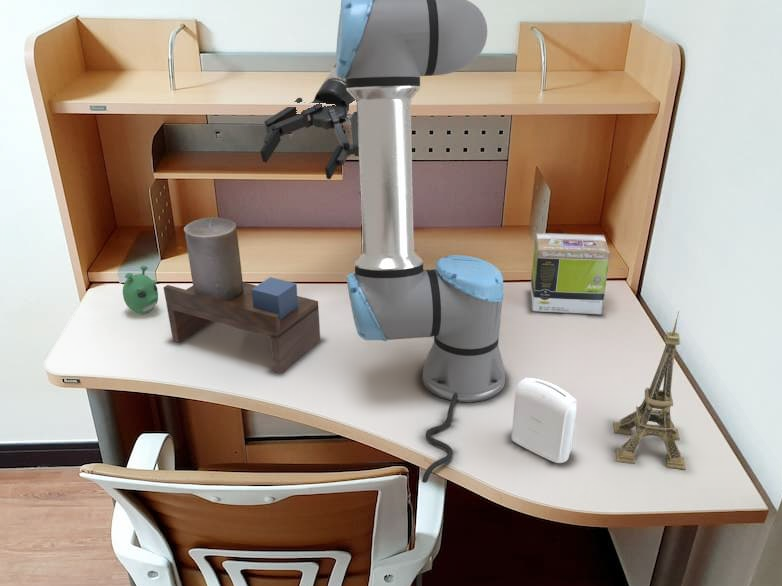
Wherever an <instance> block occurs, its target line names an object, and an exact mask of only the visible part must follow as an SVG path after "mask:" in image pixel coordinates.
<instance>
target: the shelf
mask: <svg viewBox="0 0 782 586" xmlns="http://www.w3.org/2000/svg"><path fill="white" fill-rule="evenodd" d="M256 286H257V284H253V283H249V282H245V281H243V289H244V290H243V292H242V293H241V294H240V295H239V296H237V297H236V298H233V299H231V300H228V301H226V300H222V299H219V298H215V297H211V296H207V295H204V294H200V293H196V292H194V288H193V285H191V286H190V287H187V289H184V288H181V287H178V286H173V285H170V284H167V285H165V286H163V293H164V298H165V303H166V309H167V310H166V311H167V315H168V322H169V326H170V334H171V339H172V342H174V343H178V344H180V343H181V342H183V341H184V340H187V339H188V338H189V337H190V336H192V335H194V334H195V333H197V332H198V331H200V330H201V329H203V328H204V327H206V326H207V325H210V324H211V323H213V322H214V323H218V324H221V325H225V326H228V327H232V328H235V329H239V330H243V331H246V332H250V333H253V334H256V335H261V336H264V337H267V338H270V347H271V358H272V359H271V360H272V368H273V372H274V373H276V374H283V373H284V372H285V371H286V370H287V369H288V368H289V367H291V366H292V365H293V364H294V363H295V362H297V361H298V360H299V359H300V358H302V357H303V356H304V355H305V354H306V353H307V352H309V351H310V350H311V349H312V348H314V347H316V345H317V344H319V343H320V342H321V329H320V310H319V309H320V307H319V301H318V300H315V299H311V298H308V297H303V296H300V295H297V298H298V307H297V308H296V309H295V310H293V311H292V312H291V313H289V314H288V315H287V316H285V317H284V318H282V319H281V320H280V319H279V315H278V314H275V313H271V312H267V311H264V310H260V309H256V308H253V298H252V289H253V288H254V287H256Z"/></svg>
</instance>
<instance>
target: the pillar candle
mask: <svg viewBox="0 0 782 586" xmlns="http://www.w3.org/2000/svg"><path fill="white" fill-rule="evenodd" d="M237 229H238V228H237V225H236V222H234V221H233V220H231V219H228V218H226V217H225V218H223V217H216V216H215V217H203V218H199V219H196V220H193V221H191V222H189V223H187V224H186V225H185V226H184V227H183V231H184V235H185V241H186V248H187V255H188V256H187V257H188V263H189V268H190V276H191V282H192V286H193V288H194V292H196V293H200V294H204V295H207V296H211V297H215V298H219V299H222V300H226V301H228V300H231V299H233V298H236V297H237V296H239V295H240V294H241V293H242V292H243V290H244V289H243V282H244V281H243V271H242V263H241V255H240V254H241V253H240V245H239V237H238V230H237Z"/></svg>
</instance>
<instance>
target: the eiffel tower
mask: <svg viewBox="0 0 782 586" xmlns="http://www.w3.org/2000/svg"><path fill="white" fill-rule="evenodd" d="M679 314H680V310H678V311H677V315H676V319H675V323H674V326H673V330H672V332H671V331H666V334H665V335H664V336H663V339H664V343H665V347H664V349H663V352H662V355H661V358H660V360H659V363H658V366H657V368H656V371H655V372H654V373H655V374H654V376H653V379H652V381H651V384H650V386H649V387H646V388H645V389H644V398H643V401H642V403H641V404H640V405H639V406H635V409H636V411H633V412H632V413H630V414H628V415H626V416H624V417H623V418H621V419H620V420H619V421H613V433H614V434H622V435H630V436H631V435H632V429H633V428H635V434H633V435H632V436H631V437H630V438H629V439H628V440H627V441H626V442H625V443H623V444H622V445H621V446H620V448H618V449H615V457H616V458H615V459H616V462H617V463H625V464H633V465H634V464H635V463H636V461H635V460H636V456H635V454H636V452H637V449H638V447H639V444H640V442H641V440H642V439H643V438H645V437H648V436H649V437H650V436H656V437H658V438H660V439H661V440H662V441H663V442H664V445H665V449H666V452H667V453H666V454H665V463H666V468H668V469H676V470H684V471H685V470H686V469H687V468H686V462H685V457H684V456H683V457H682V453H681V451H680V450H679V448H678V446H677V444H676V442H675V441H680V434H679V429H678V428H676V427H675V425H674V422H673V421H672V418H671V417H672V416H671V407H674V399H673V396H672V383H673V371H674V362H675V354H676V347H677V346H680V345H681V341H680V340H681V337H680V334H679V332H676V329H677V323H678V317H679ZM662 384H663V386H662ZM661 386H662V389H661ZM648 422H650V423H651V422H652V423H656V424H649V423H648ZM657 424H658V425H657Z"/></svg>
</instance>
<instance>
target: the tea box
mask: <svg viewBox="0 0 782 586" xmlns="http://www.w3.org/2000/svg"><path fill="white" fill-rule="evenodd" d="M605 236H606V235H604V234H585V233H584V234H583V233H581V234H579V233H556V232H555V233H553V232H551V233H550V232H544V233H543V232H536V233H535V238H534V247H533V258H532V269H531V276H530V277H531V279H530V298H531V309H532V312H546V313H566V314H584V315H585V314H587V315H589V314H590V315H591V314H592V315H602V313H603V308H604V307H603V306H604V299H605V292H606V286H607V279H608V272H609V267H610V266H609V265H610V257H611V251H610V248H609V246H608V242H607V240H606V237H605Z"/></svg>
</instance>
